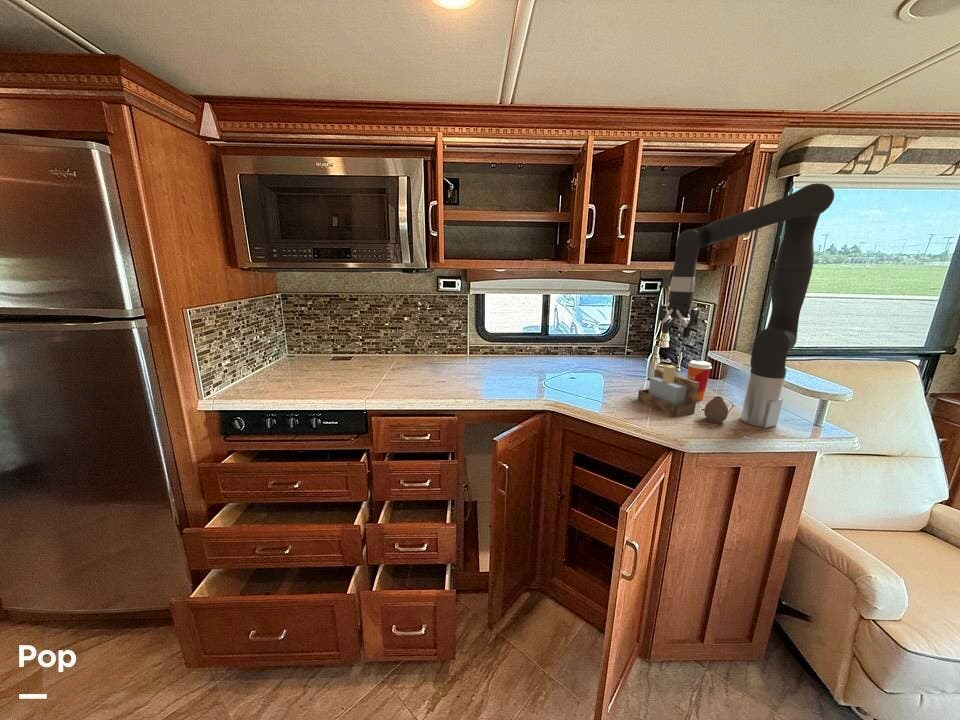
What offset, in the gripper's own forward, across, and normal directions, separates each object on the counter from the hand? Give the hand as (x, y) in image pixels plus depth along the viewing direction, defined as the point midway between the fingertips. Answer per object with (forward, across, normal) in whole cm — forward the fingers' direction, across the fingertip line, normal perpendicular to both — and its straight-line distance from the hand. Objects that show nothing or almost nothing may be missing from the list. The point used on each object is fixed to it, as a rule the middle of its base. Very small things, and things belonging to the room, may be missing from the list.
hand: (674, 335), depth 132 cm
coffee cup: (+28, +2, -19) cm, 34 cm away
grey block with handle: (+28, 0, 0) cm, 28 cm away
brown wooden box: (+28, 0, 0) cm, 28 cm away
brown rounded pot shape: (+28, -16, -6) cm, 33 cm away
